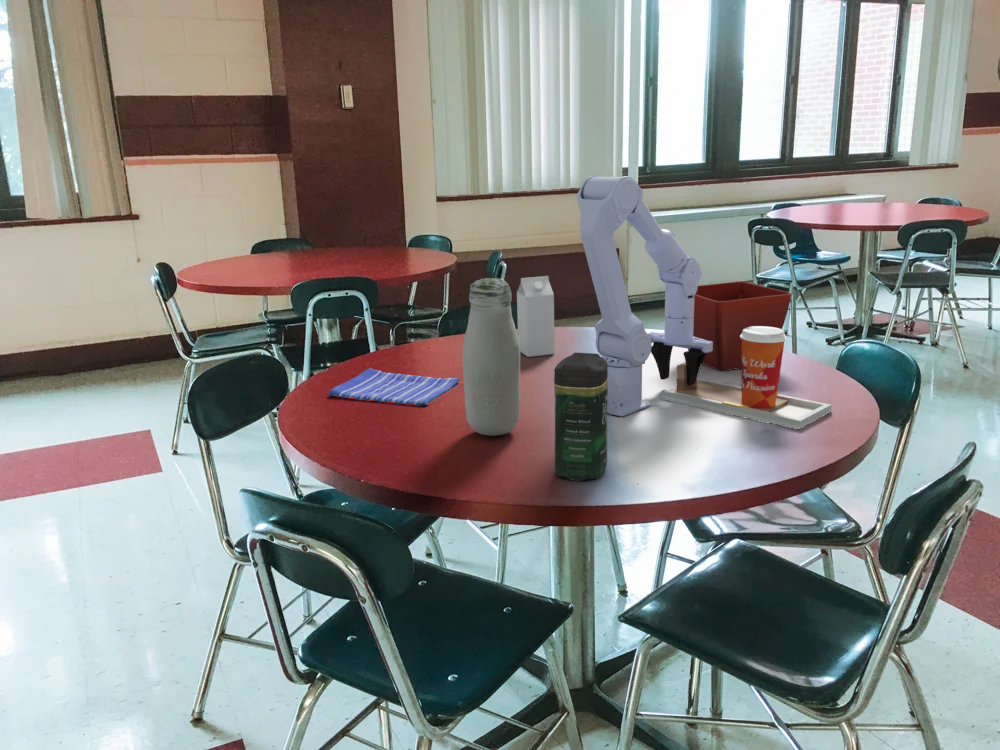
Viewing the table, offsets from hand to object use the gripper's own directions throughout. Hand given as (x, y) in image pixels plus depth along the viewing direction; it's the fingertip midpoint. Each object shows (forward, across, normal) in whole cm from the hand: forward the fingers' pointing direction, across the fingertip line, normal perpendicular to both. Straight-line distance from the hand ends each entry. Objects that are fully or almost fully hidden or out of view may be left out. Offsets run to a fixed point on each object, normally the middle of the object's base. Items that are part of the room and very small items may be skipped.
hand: (677, 381), depth 166 cm
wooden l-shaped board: (+2, -11, 0) cm, 11 cm away
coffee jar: (+2, -13, +46) cm, 47 cm away
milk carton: (+2, +45, -6) cm, 45 cm away
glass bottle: (+2, +10, +42) cm, 44 cm away
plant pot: (+2, +4, -26) cm, 27 cm away
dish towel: (+3, +46, +38) cm, 59 cm away
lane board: (+2, -15, 0) cm, 15 cm away
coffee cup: (+2, -18, 0) cm, 19 cm away
